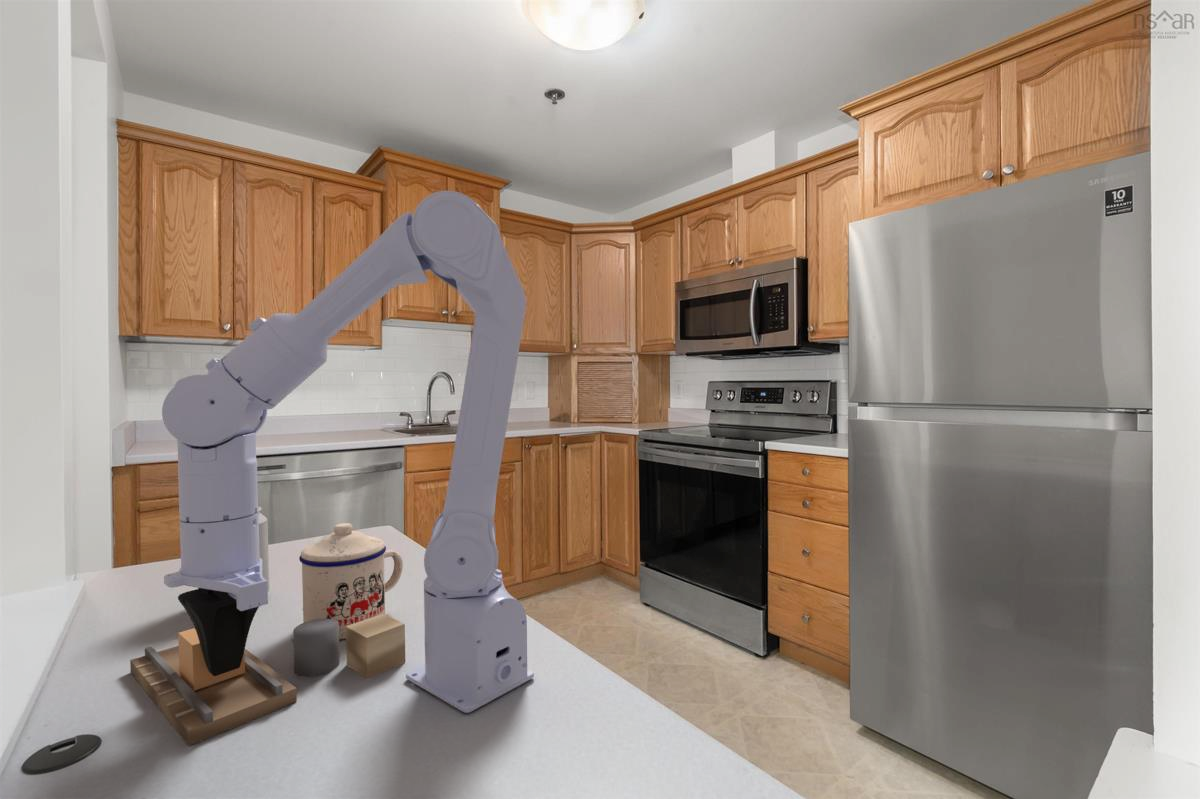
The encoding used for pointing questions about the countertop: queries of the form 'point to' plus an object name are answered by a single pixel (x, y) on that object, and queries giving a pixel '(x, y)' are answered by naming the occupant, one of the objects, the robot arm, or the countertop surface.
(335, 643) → the charcoal cylinder
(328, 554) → the teacup with lid
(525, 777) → the countertop surface
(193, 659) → the slider
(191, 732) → the board
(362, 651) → the oak block
